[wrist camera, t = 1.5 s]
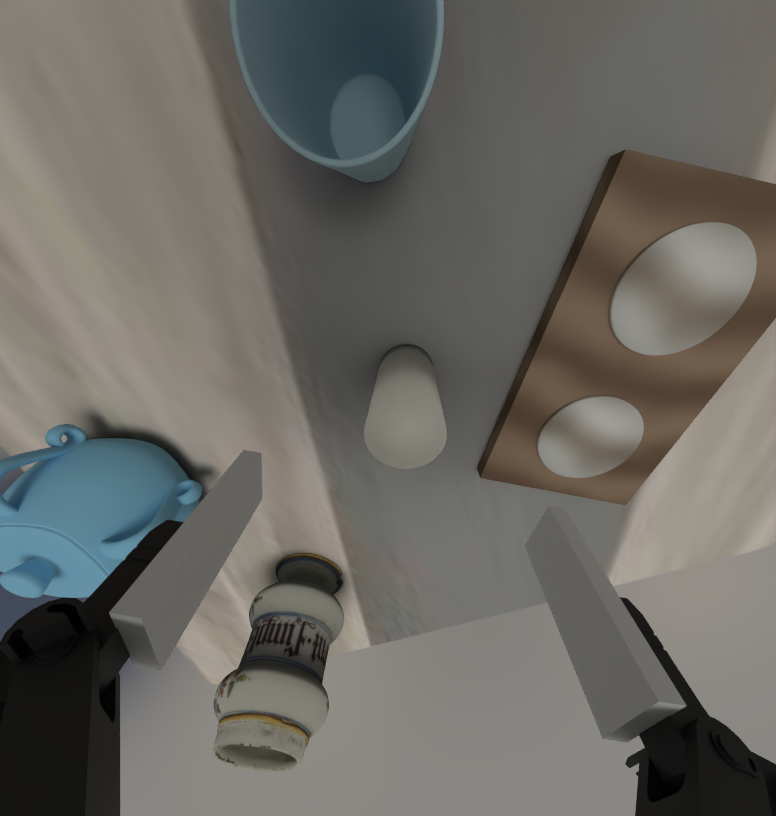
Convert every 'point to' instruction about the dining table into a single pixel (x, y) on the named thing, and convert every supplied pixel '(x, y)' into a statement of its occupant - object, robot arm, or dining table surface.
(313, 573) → the apothecary jar
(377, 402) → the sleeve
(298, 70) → the cup
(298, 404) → the dining table surface
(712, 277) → the seat board
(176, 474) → the decorative pot
